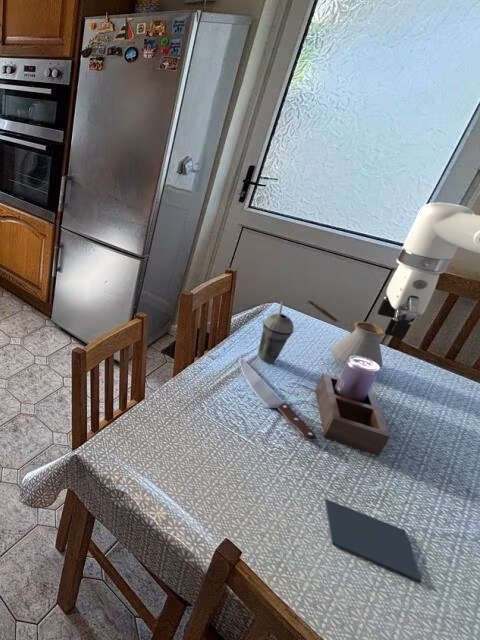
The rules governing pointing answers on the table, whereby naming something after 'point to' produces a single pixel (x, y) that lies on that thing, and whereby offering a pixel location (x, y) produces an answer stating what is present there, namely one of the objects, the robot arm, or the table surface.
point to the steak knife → (274, 401)
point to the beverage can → (356, 378)
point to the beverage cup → (274, 336)
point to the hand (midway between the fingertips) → (389, 325)
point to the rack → (351, 418)
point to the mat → (371, 539)
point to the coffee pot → (356, 341)
